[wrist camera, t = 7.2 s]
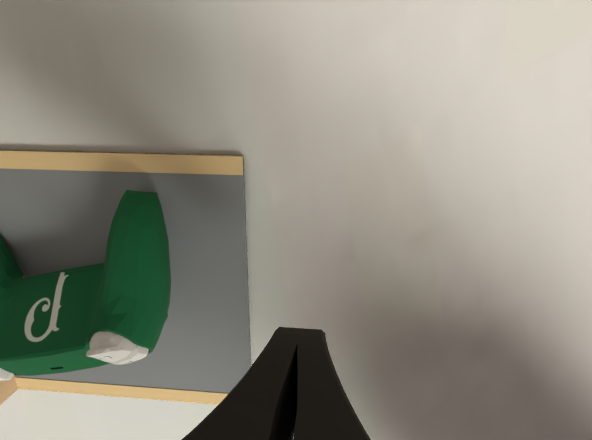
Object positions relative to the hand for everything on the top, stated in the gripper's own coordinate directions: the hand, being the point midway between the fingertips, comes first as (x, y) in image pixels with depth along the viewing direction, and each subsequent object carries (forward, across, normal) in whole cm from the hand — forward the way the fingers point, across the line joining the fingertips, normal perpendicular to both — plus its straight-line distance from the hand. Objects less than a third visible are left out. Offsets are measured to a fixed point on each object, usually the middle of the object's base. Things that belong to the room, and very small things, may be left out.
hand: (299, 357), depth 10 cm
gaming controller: (+5, +10, 0) cm, 11 cm away
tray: (+5, +9, +1) cm, 10 cm away
